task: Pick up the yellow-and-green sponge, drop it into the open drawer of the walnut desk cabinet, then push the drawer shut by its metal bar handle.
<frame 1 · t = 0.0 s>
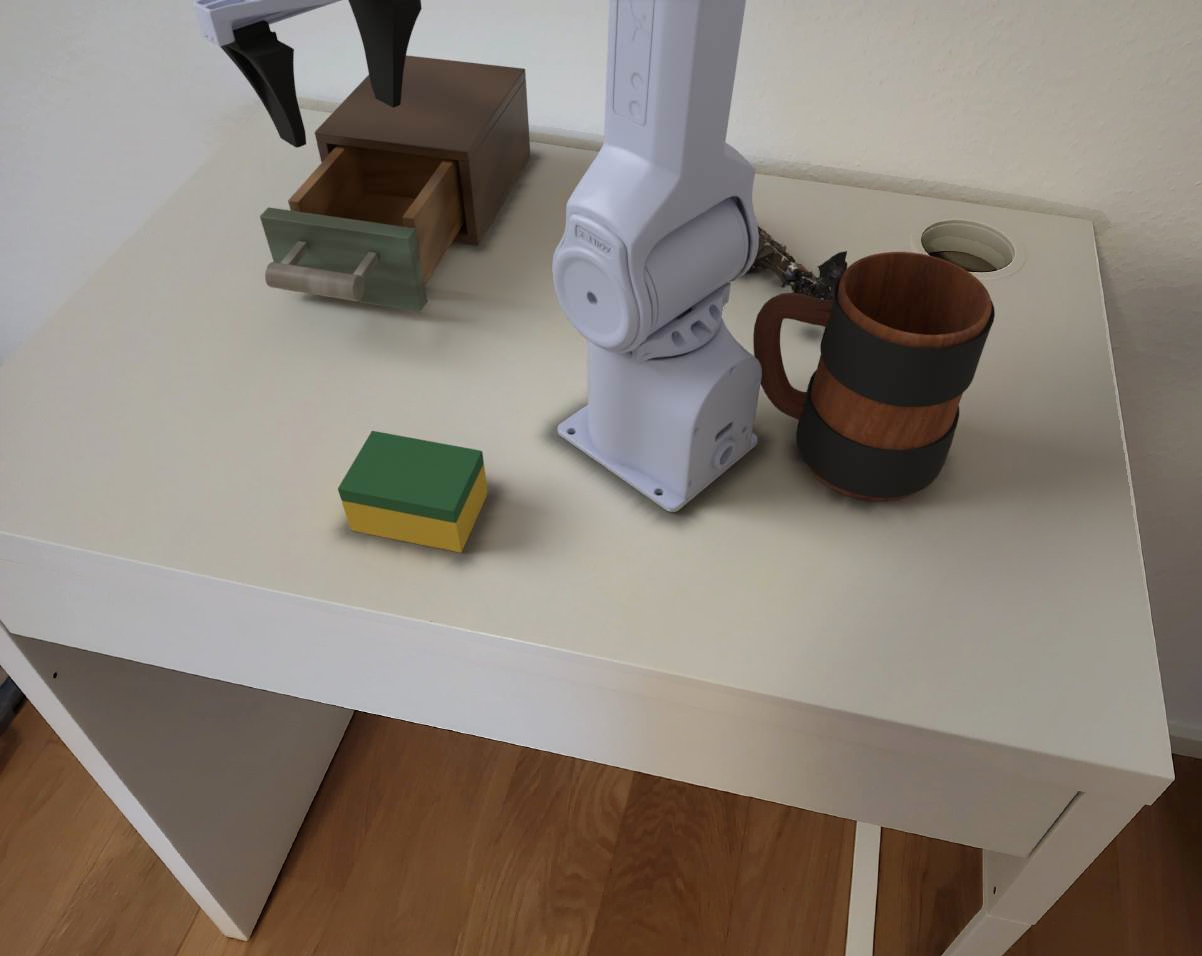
hand: (342, 120, 62), 10 cm above the table, tool pointing down, fingers open, 7 cm apart
drawer: (367, 231, 64), point 4 cm above the table, slide at 8.5 cm
sponge: (420, 511, 52), on the table
mug: (836, 450, 56), on the table
cabinet: (438, 189, 75), on the table
airplane wreck: (742, 276, 67), on the table
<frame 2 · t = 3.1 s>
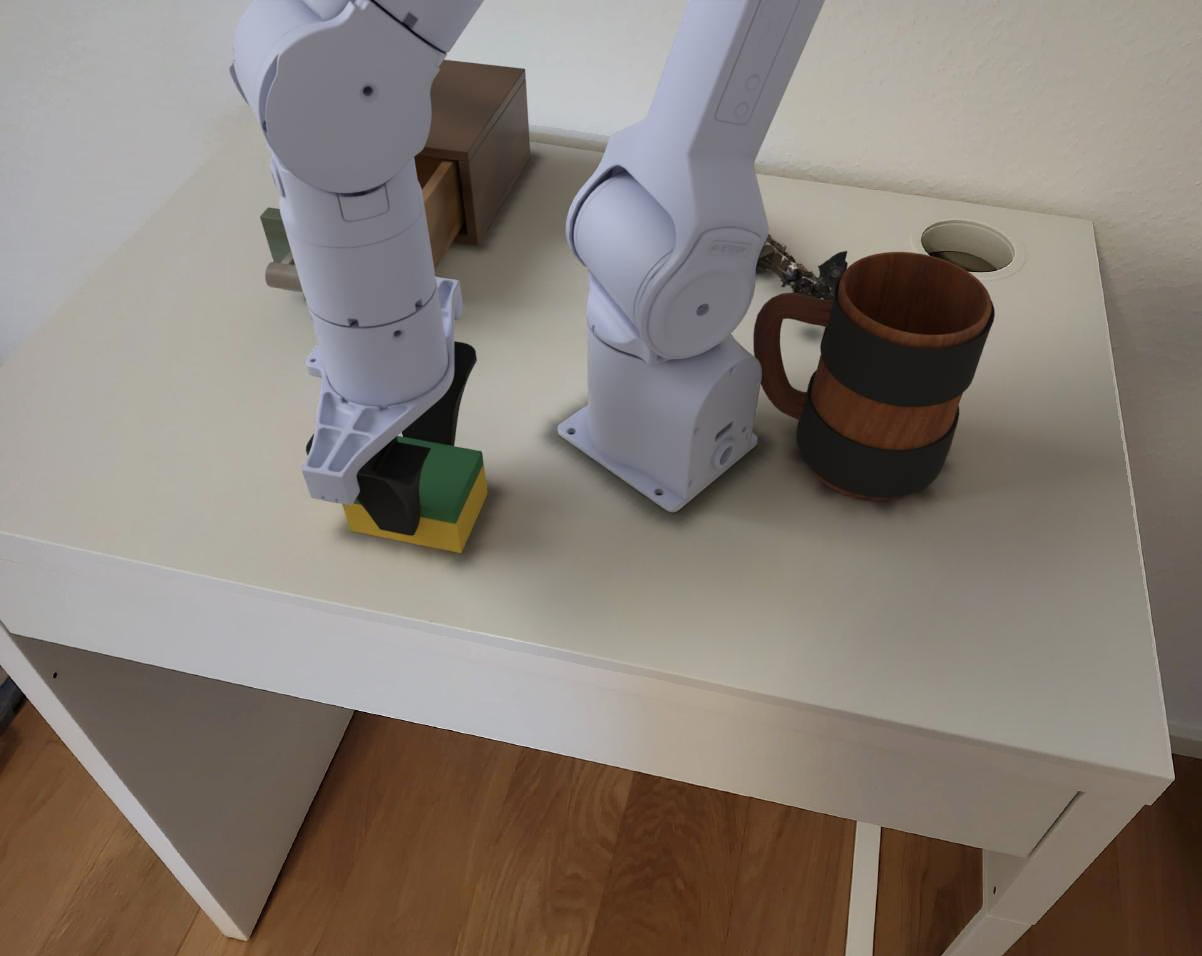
hand: (416, 492, 51), 2 cm above the table, tool pointing down, fingers closed on sponge, 4 cm apart
sponge: (420, 512, 52), on the table, touching gripper
everything else where it was.
when the fingers open (9 cm above the table, at t = 14.1 s): sponge drops 5 cm, resting on drawer.
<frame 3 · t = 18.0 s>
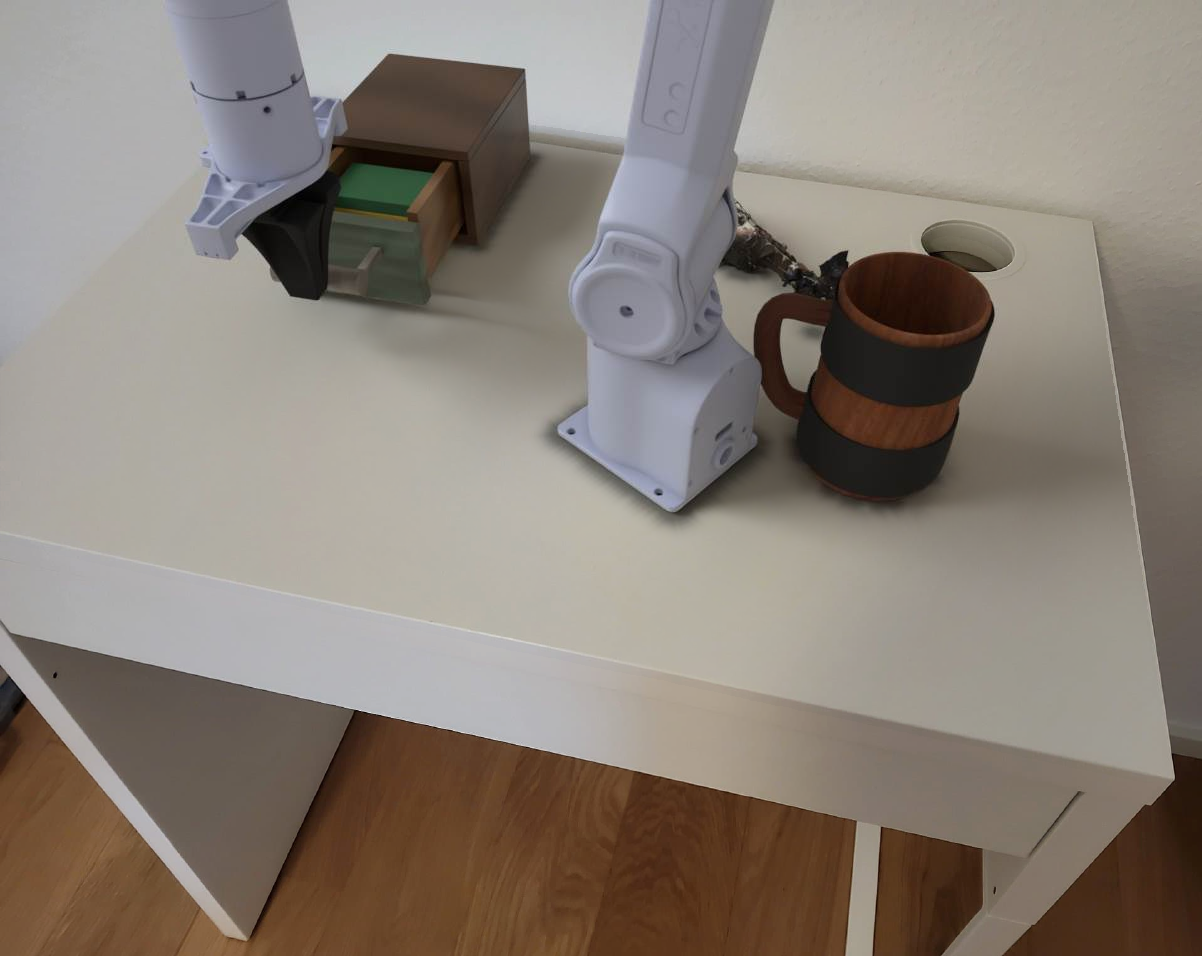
hand: (308, 292, 58), 5 cm above the table, tool pointing down, fingers closed
drawer: (370, 226, 65), point 4 cm above the table, slide at 7.9 cm, touching gripper, sponge
sponge: (390, 226, 68), point 2 cm above the table, touching drawer
everything else where it was.
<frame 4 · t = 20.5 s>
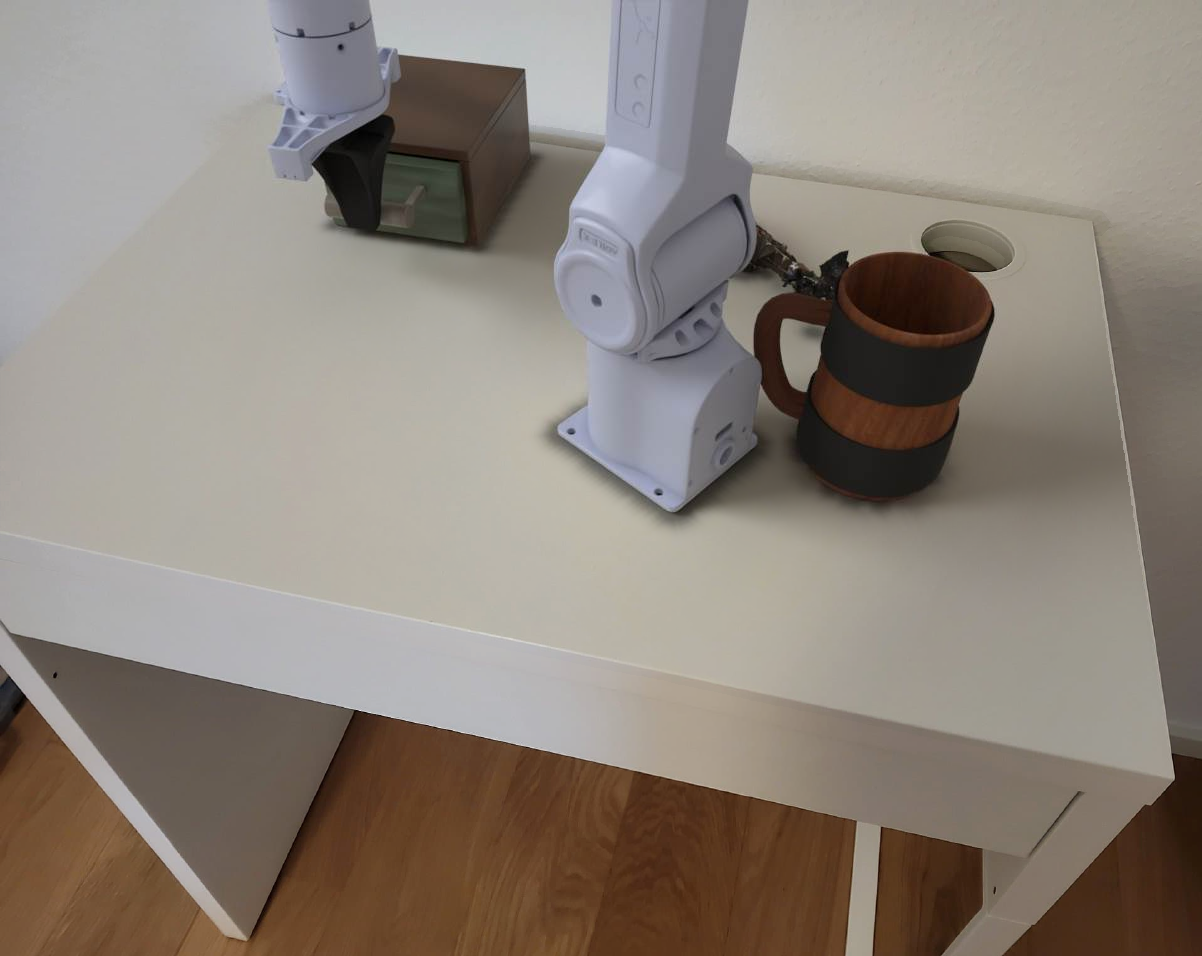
hand: (364, 225, 64), 4 cm above the table, tool pointing down, fingers closed, pressing on drawer
drawer: (413, 170, 70), point 4 cm above the table, slide at 0.0 cm, touching cabinet, gripper, sponge
sponge: (429, 173, 73), point 2 cm above the table, touching drawer
everything else where it was.
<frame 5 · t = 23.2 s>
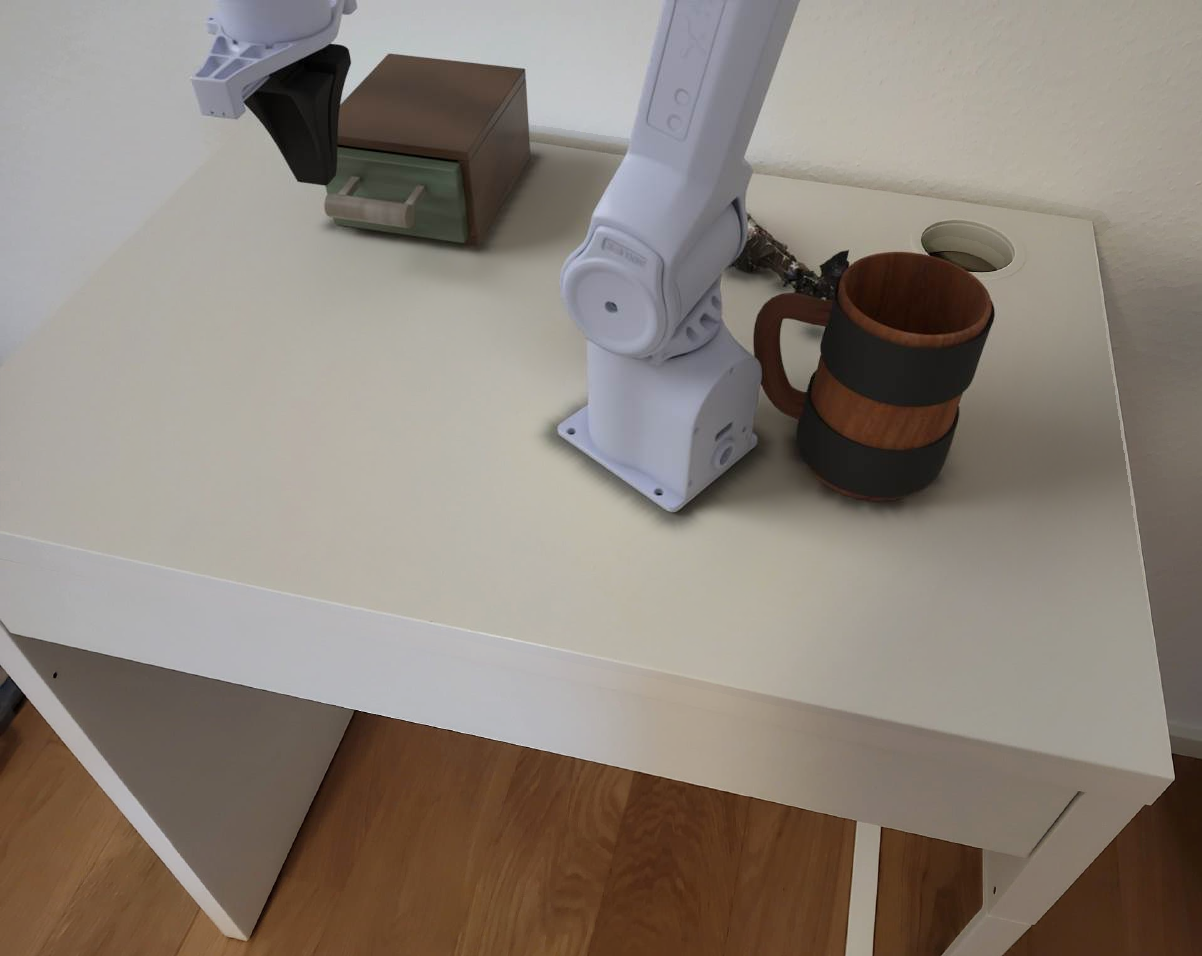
hand: (316, 178, 56), 10 cm above the table, tool pointing down, fingers closed
drawer: (413, 170, 70), point 4 cm above the table, slide at 0.0 cm, touching cabinet, sponge
everything else where it was.
at the end: sponge inside the target area in the cabinet (1.0 cm from its centre), point 2.0 cm above the cabinet's base; drawer slide at 0.0 cm; the gripper is holding nothing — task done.
